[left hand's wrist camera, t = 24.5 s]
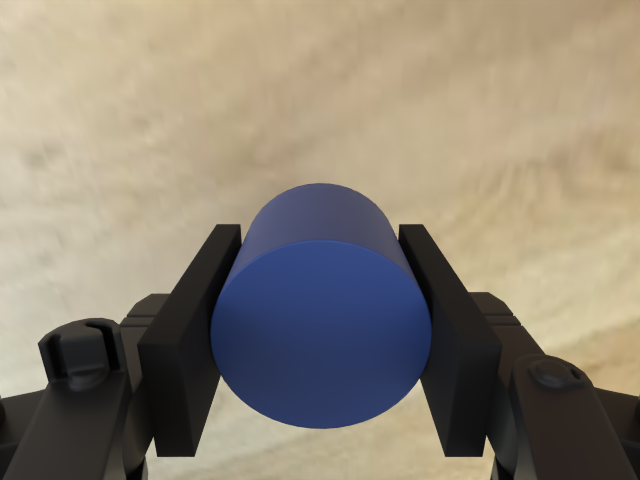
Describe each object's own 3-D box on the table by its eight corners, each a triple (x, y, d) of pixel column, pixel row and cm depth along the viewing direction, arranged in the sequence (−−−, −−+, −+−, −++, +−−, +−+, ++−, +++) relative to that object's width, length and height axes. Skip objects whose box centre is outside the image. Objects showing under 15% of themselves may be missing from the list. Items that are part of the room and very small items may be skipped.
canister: (286, 154, 13) (268, 197, 9) (426, 228, 14) (477, 303, 10) (220, 285, 15) (176, 380, 10) (349, 344, 16) (361, 456, 11)
